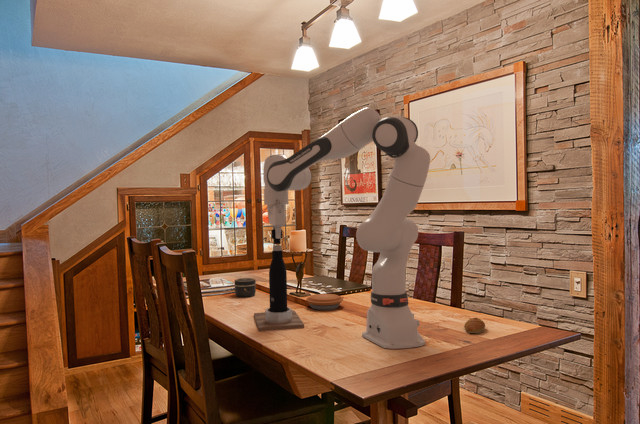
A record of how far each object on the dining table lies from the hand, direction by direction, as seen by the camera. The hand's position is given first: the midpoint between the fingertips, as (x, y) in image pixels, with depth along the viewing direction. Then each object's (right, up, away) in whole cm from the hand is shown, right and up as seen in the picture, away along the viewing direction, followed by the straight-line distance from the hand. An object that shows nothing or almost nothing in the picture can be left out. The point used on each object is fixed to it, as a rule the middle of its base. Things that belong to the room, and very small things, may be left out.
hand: (277, 237), depth 176 cm
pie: (+18, -31, +26) cm, 44 cm away
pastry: (+68, -31, -12) cm, 76 cm away
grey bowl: (0, -30, +1) cm, 30 cm away
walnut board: (0, -32, +4) cm, 32 cm away
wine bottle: (0, -27, +1) cm, 27 cm away
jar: (-20, -31, +53) cm, 64 cm away
